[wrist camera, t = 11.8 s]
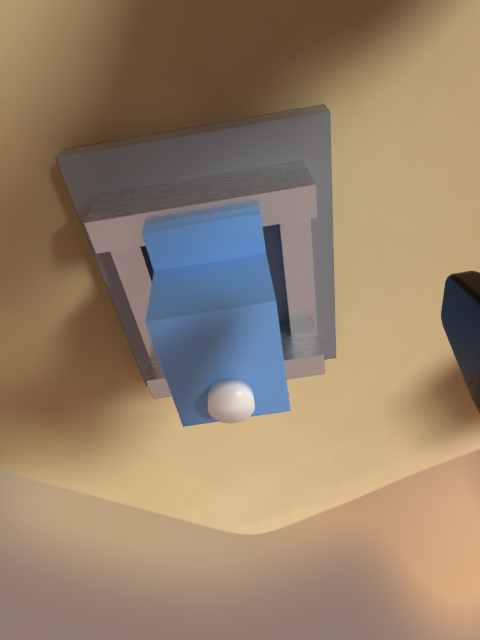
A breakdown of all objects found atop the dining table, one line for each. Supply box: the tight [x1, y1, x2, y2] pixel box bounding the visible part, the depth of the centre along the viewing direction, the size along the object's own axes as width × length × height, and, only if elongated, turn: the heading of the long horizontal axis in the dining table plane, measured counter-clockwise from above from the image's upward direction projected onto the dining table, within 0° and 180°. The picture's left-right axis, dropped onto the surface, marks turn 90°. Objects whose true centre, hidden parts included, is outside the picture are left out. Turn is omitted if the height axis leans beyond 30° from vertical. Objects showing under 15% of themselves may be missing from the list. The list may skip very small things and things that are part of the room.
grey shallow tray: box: [56, 104, 336, 399], centre depth 19 cm, size 10×12×4 cm
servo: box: [142, 206, 290, 427], centre depth 17 cm, size 4×8×7 cm, turn 9°
